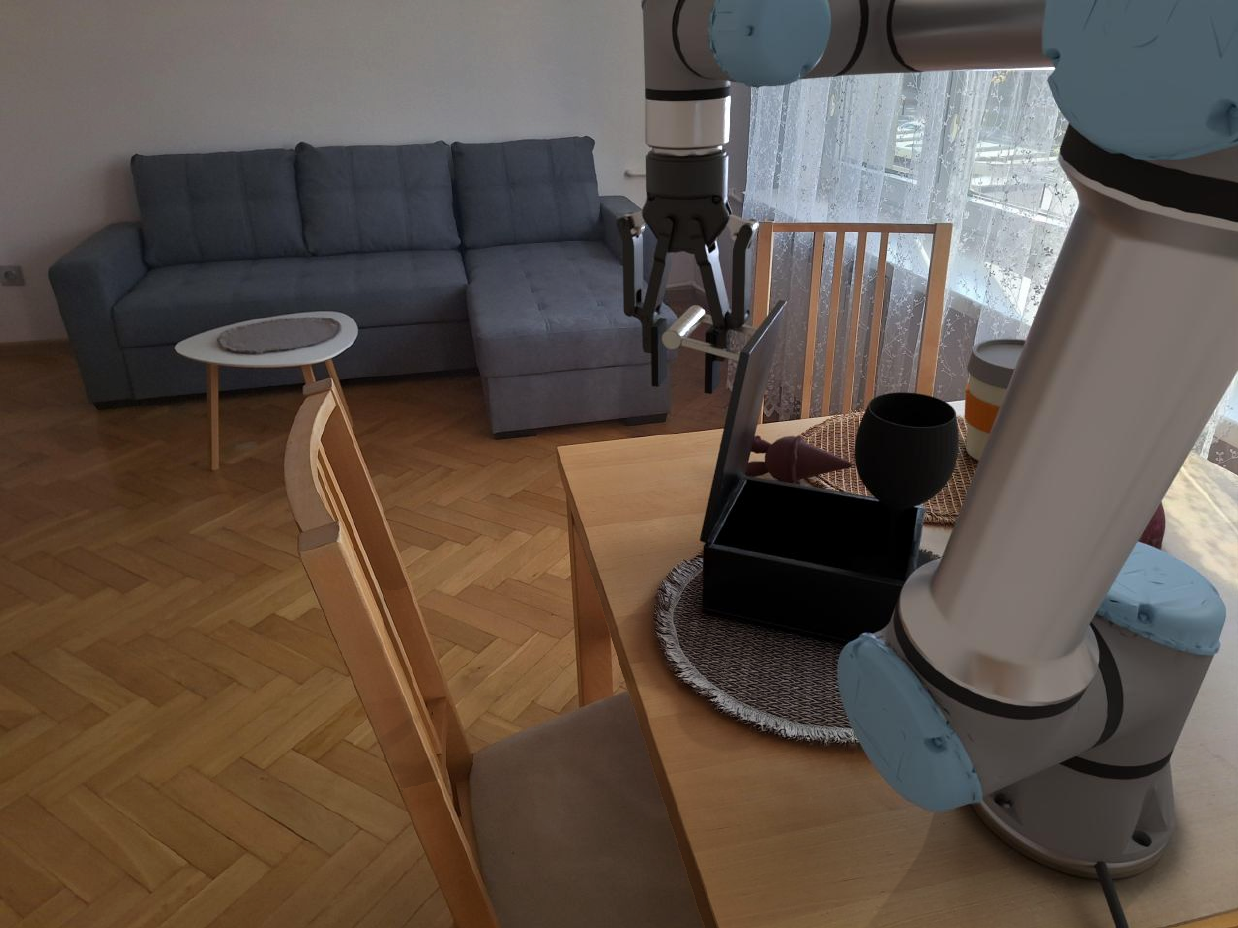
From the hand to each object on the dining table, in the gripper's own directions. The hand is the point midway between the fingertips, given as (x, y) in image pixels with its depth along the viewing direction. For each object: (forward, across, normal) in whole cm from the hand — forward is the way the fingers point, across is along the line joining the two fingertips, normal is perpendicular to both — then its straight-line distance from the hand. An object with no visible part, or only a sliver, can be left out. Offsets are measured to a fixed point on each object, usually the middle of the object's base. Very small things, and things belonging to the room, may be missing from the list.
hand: (685, 384), depth 86 cm
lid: (+3, -7, 0) cm, 7 cm away
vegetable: (+23, -46, -20) cm, 55 cm away
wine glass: (+13, -22, -7) cm, 27 cm away
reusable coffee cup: (+23, -34, -41) cm, 58 cm away
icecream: (+23, -8, -24) cm, 34 cm away
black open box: (+23, -15, 0) cm, 27 cm away
